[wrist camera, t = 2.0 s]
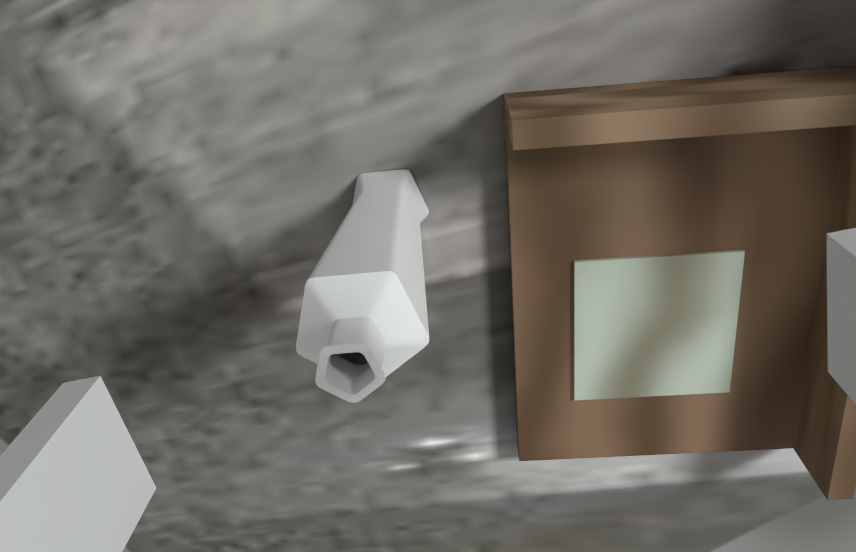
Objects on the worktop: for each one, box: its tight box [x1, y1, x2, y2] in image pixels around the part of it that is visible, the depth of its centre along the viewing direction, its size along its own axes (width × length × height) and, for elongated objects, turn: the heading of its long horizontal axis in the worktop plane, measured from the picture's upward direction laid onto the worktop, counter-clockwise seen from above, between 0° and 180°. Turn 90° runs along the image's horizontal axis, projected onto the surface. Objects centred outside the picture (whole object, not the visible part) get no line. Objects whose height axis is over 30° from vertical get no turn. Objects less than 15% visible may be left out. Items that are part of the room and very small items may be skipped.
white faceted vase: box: [296, 169, 429, 403], centre depth 29 cm, size 5×4×15 cm
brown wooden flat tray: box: [504, 66, 856, 500], centre depth 35 cm, size 16×20×5 cm
